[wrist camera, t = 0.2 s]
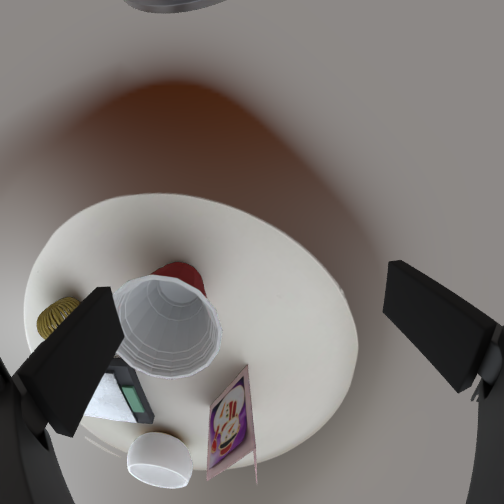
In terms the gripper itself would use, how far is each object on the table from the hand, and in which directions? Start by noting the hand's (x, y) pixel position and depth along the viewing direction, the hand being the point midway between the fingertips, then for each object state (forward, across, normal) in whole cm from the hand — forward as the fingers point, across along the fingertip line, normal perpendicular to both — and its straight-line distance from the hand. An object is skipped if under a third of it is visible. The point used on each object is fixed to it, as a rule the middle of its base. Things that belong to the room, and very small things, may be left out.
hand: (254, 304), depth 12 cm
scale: (+21, -26, -26) cm, 42 cm away
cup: (+21, -19, -41) cm, 50 cm away
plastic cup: (+21, -8, -7) cm, 23 cm away
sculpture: (+21, -26, -10) cm, 35 cm away
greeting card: (+21, -2, -27) cm, 34 cm away
